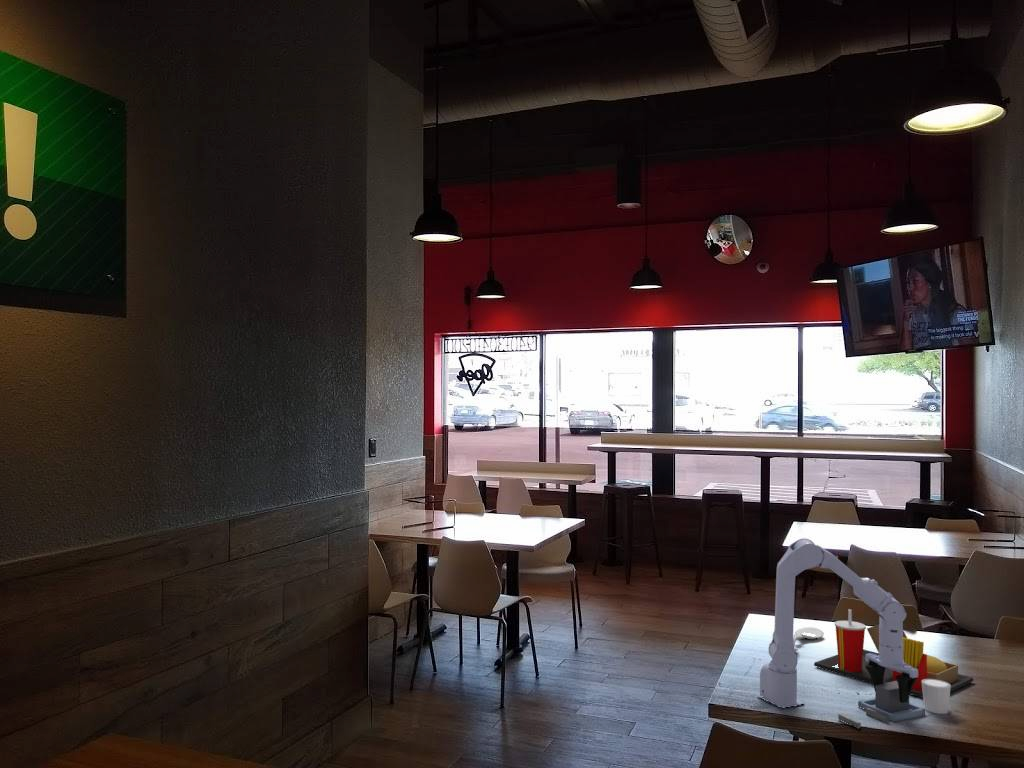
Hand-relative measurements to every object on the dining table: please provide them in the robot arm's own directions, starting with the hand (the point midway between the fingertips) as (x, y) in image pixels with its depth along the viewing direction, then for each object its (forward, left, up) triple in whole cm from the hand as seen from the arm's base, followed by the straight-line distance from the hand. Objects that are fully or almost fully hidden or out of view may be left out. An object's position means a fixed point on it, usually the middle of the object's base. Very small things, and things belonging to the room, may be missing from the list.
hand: (891, 697), depth 205 cm
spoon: (-54, +22, -4) cm, 59 cm away
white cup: (+4, +12, -4) cm, 13 cm away
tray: (0, 0, -4) cm, 4 cm away
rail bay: (+2, -12, -4) cm, 13 cm away
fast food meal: (-20, +24, -4) cm, 32 cm away
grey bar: (0, +1, -3) cm, 3 cm away
